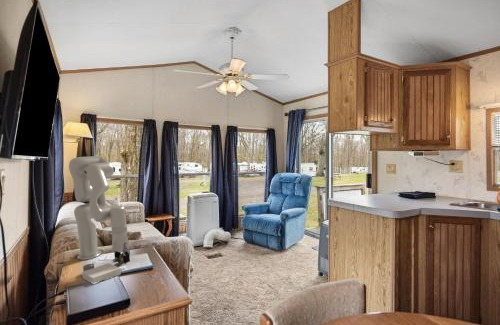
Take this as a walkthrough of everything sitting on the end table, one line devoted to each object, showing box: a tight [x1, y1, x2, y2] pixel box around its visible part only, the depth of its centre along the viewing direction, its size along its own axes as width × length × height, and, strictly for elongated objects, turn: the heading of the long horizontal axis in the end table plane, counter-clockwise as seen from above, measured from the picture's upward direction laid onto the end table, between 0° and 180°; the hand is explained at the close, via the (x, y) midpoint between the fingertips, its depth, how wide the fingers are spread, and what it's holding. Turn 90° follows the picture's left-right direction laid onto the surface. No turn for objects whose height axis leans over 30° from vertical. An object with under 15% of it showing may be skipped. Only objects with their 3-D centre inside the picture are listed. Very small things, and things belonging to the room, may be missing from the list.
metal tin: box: [82, 263, 95, 272], centre depth 152 cm, size 5×5×4 cm
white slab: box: [81, 263, 122, 283], centre depth 147 cm, size 13×13×3 cm
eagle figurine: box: [112, 251, 131, 268], centre depth 161 cm, size 8×7×9 cm
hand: (122, 260), depth 160 cm, fingers open, 9 cm apart
